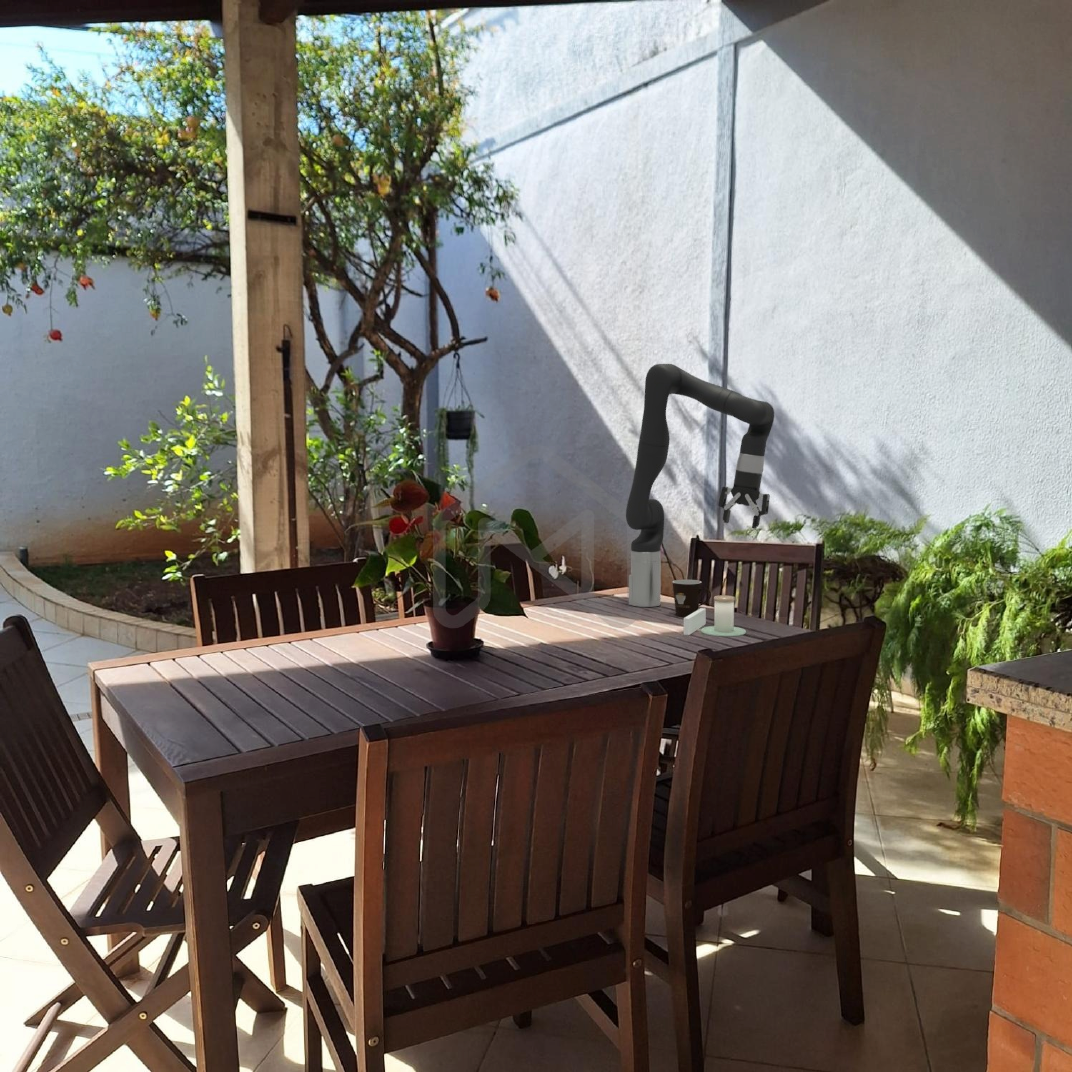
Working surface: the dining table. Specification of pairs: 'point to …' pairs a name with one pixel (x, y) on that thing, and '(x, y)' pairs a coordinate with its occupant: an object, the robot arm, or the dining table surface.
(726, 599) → the cream jar
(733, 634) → the sage pad
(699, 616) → the grey wall
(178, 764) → the dining table surface
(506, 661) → the dining table surface
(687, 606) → the coffee mug
